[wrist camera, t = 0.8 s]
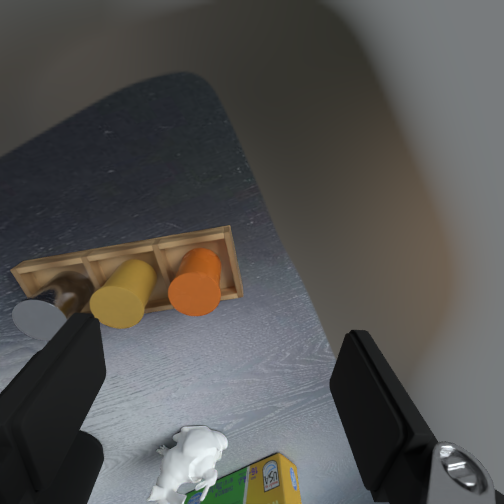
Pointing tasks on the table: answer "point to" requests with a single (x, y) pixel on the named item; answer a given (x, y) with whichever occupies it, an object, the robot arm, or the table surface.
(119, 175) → the table surface
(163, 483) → the rabbit figurine
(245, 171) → the table surface
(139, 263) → the cylinder
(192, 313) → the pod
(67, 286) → the disc
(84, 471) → the coffee jar
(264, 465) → the game box
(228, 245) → the pod holder
